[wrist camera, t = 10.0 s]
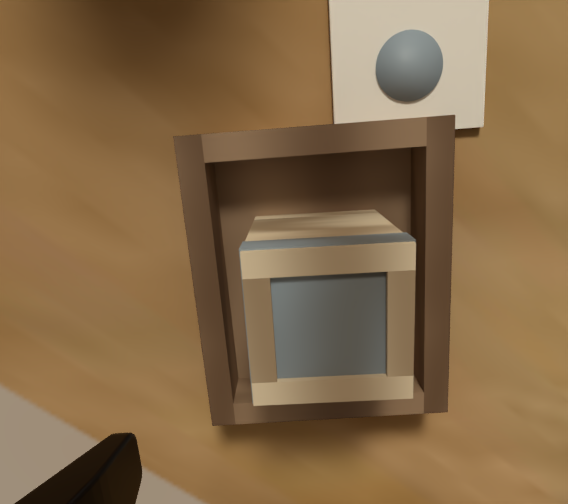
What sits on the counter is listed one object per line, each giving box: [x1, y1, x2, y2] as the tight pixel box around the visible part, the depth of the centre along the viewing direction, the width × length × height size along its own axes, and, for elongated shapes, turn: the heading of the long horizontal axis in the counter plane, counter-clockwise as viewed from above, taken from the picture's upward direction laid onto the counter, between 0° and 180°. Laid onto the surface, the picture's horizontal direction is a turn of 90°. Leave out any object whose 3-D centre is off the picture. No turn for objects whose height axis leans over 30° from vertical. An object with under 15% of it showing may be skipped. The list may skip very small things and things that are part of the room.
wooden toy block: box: [239, 210, 416, 406], centre depth 16 cm, size 5×5×6 cm
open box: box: [173, 115, 455, 426], centre depth 18 cm, size 10×12×3 cm
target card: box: [328, 0, 489, 129], centre depth 16 cm, size 6×9×1 cm, turn 4°
